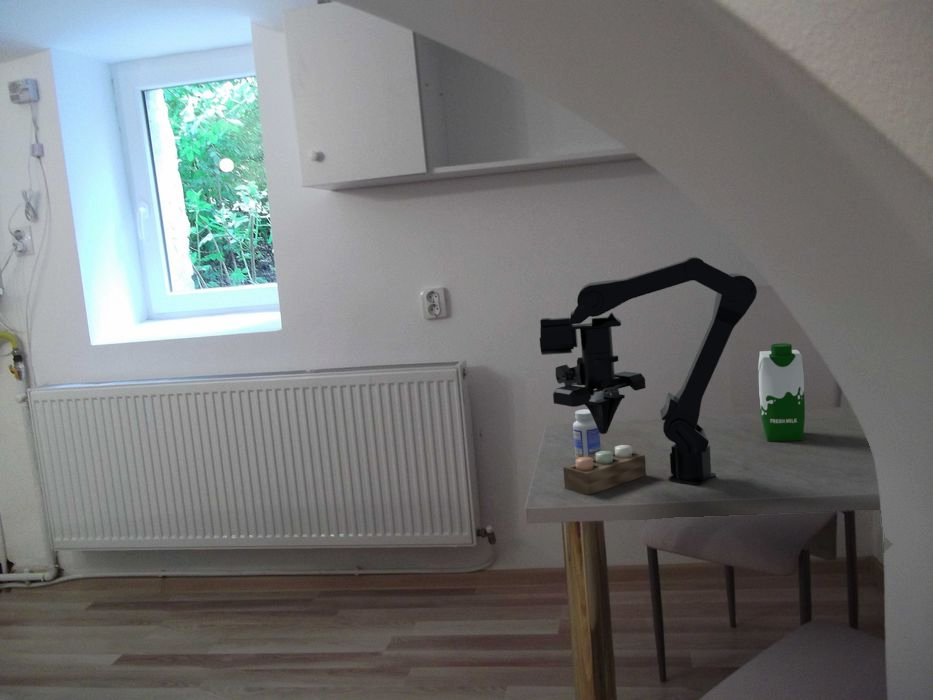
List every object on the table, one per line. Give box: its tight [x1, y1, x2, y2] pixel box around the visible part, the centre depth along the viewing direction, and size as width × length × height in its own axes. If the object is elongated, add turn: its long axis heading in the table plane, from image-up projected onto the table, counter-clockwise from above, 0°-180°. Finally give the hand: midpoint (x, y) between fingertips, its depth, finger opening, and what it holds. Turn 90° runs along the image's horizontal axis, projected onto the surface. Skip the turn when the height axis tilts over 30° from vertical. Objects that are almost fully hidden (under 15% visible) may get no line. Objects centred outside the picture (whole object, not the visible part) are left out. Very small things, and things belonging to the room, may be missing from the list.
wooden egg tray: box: [563, 450, 647, 496], centre depth 158 cm, size 15×6×4 cm, turn 125°
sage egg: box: [595, 450, 613, 465], centre depth 158 cm, size 3×3×2 cm
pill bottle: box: [572, 408, 602, 459], centre depth 175 cm, size 5×5×10 cm
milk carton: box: [757, 342, 806, 442], centre depth 176 cm, size 9×9×20 cm
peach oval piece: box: [574, 457, 593, 472], centre depth 155 cm, size 3×3×2 cm
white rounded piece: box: [614, 444, 633, 459], centre depth 161 cm, size 3×3×2 cm
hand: (603, 433), depth 157 cm, fingers closed
